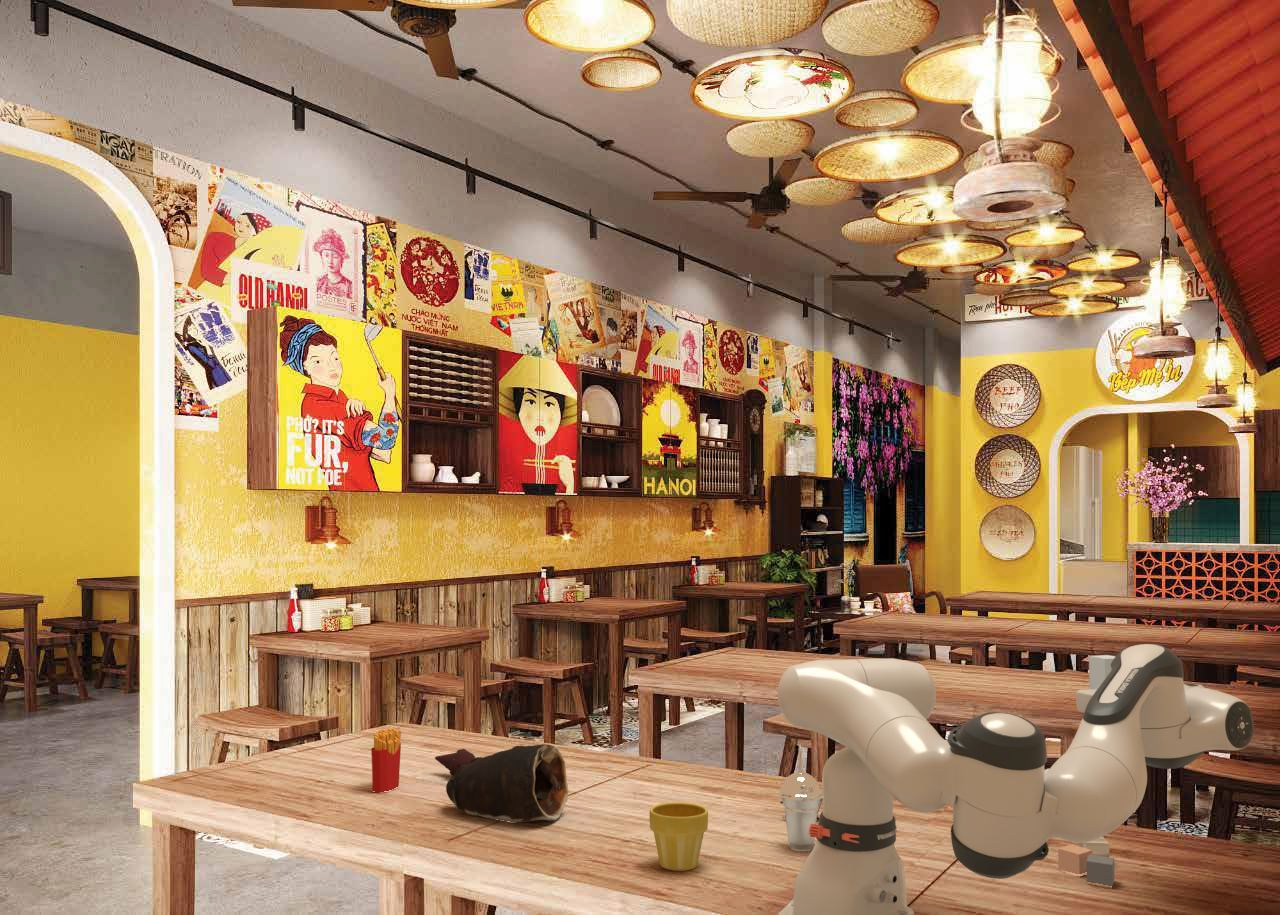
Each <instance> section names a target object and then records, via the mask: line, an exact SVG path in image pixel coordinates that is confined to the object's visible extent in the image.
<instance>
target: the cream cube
mask: <svg viewBox="0 0 1280 915" xmlns="http://www.w3.org/2000/svg"><path fill="white" fill-rule="evenodd" d="M1079 847H1083V848H1086V849H1090V850H1092V855H1097V856H1103V857H1110V843H1109V841H1108V840H1107V839H1106V838H1105V837H1104V836H1102V837H1100V838H1098V839H1095V840H1093V841H1089V842H1084V843H1079Z"/></svg>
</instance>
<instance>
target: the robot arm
mask: <svg viewBox="0 0 1280 915" xmlns="http://www.w3.org/2000/svg"><path fill="white" fill-rule="evenodd" d="M1116 654H1117V653H1116ZM1115 656H1116V657H1115V658H1114V659H1113V661H1112V662H1111V669H1112V670H1111V672H1110V673H1109V674H1108V676H1107V677H1106V678H1105V680H1104V681H1103V683H1102V684H1101V685H1100V687H1099V688H1098V689H1090V688H1089V689H1078V690H1077V691H1076V696H1075V697H1076V699H1075V700H1076V701H1075V702H1076V709H1077V711H1078V712H1079V713H1082V719H1081V720H1080V723H1079V726H1078V728H1077V731H1076V733H1075V735H1074V737H1073V739H1072V741H1071V743H1070V745H1069V747H1068V748H1067V750H1066V751H1065V752H1064V753H1063V754H1062V755H1061V756H1060V757H1059V758H1058V759H1057V760H1056V761H1055V762H1054V763H1053V764H1052V765H1051V767H1050V768H1046V769H1045V765H1046V763H1047V761H1048V750H1047V744H1046V739H1045V735H1044V733H1043V731H1042V730H1041V729H1040V728H1039V727H1038V726H1037V725H1036V724H1035V723H1033V722H1032V721H1031V720H1028V719H1027V718H1024V717H1022V716H1019V715H1016V714H1012V713H1008V712H998V711H994V712H993V711H992V712H985V713H982V714H980V715H977V716H975V717H973V718H971V719H968V720H967V721H965V723H964V724H963V725H958V726H956V727H954V728H953V729H952V730H951V731H950V732H949V734H948V736H947V740H945V739H944V738H943V737H942V736H941V735H940V734H939V733H938V731H937V730H936V729H935V728H934V727H933V725H931V723H930V722H929V721H928V719H929V718H930V716H931V715H932V713H933V711H934V708H935V706H936V701H937V688H936V685H935V684H936V683H935V681H934V679H933V677H932V675H931V673H930V672H929V671H928V670H927V668H926V667H925V666H924V665H923V664H921V663H918V662H913V661H909V660H905V659H904V660H903V659H899V658H893V657H891V658H889V657H888V658H853V659H850V658H848V659H846V658H845V659H816V660H811V661H807V662H806V661H805V662H802V663H796V664H793V665H790V666H788V667H787V669H785V671H784V672H783V673H782V675H781V677H780V680H779V682H778V686H777V701H778V707H779V710H780V711H781V713H782V715H783V717H784V718H785V720H787V722H789V723H790V725H792V726H794V727H797V728H802V729H806V730H809V731H812V732H815V733H818V734H820V735H823V736H825V737H827V738H829V739H831V740H833V741H835V742H837V743H838V744H840V745H843V746H844V747H843V748H841V749H840V750H838V751H837V752H835V753H833V754H832V755H831V756H829V758H828V759H827V760H826V761H825V763H824V766H823V769H822V776H821V778H822V784H821V785H822V788H821V790H822V795H823V801H822V811H821V813H820V814H819V820H817V821H818V822H817V823H816V824H813V823H812V824H811V825H810V828H809V832H810V833H809V835H810V836H811V837H815V838H816V840H817V841H816V842H815V844H814V845H813V850H811V852H809V855H808V857H807V858H806V860H805V862H804V863H803V864H802V867H801V869H800V871H799V873H798V874H797V876H796V878H795V881H794V887H793V899H791V901H789V902H788V904H787V905H786V906H784V908H782V910H780V911H779V913H778V914H777V915H915V910H913V909H912V908H911V907H909V906H908V902H907V901H908V899H907V889H906V888H907V887H906V876H905V866H904V865H905V864H904V861H903V860H902V858H901V857H900V855H899V853H898V851H897V848H896V846H895V843H896V841H897V832H898V831H897V830H898V828H897V824H896V818H895V816H894V815H893V814H894V813H893V812H894V799H895V800H897V802H899V803H900V804H901V805H903V806H904V807H906V808H907V809H909V810H911V811H914V812H916V813H922V814H924V813H926V814H927V813H933V812H937V811H939V810H941V809H943V808H945V807H946V806H947V805H948V806H950V807H951V806H952V825H951V826H950V839H951V845H952V846H951V847H952V850H953V853H954V856H955V858H956V860H957V861H958V862H959V863H960V864H961V865H963V866H964V867H965V868H966V869H968V870H969V871H971V872H972V873H975V875H976V874H977V875H978V876H981V877H985V878H990V879H998V880H999V879H1000V880H1001V879H1002V880H1003V879H1009V878H1011V877H1013V876H1014V877H1015V876H1016V875H1018V874H1020V873H1023V872H1025V871H1026V870H1028V869H1029V868H1030V867H1031V866H1032V865H1033V864H1034V863H1035V862H1036V861H1041V860H1045V858H1046V857H1047V856H1048V854H1049V850H1050V849H1049V845H1048V843H1047V841H1049V840H1050V839H1052V838H1053V839H1055V838H1059V839H1063V840H1064V841H1067V842H1070V843H1071V842H1072V843H1077V844H1078V843H1079V844H1080V843H1084V842H1089V841H1093V840H1095V839H1098V838H1100V837H1104V836H1106V835H1108V834H1110V833H1111V832H1113V831H1114V830H1116V829H1118V827H1119V826H1121V825H1122V824H1124V822H1126V821H1127V820H1128V819H1129V818H1130V817H1132V816H1131V815H1133V814H1134V813H1135V812H1136V810H1138V808H1139V807H1140V805H1141V804H1142V801H1143V799H1144V795H1145V792H1146V788H1147V785H1148V769H1147V766H1149V767H1151V768H1157V769H1163V770H1165V769H1166V770H1173V769H1174V770H1175V769H1180V768H1183V767H1186V766H1189V765H1190V764H1192V763H1193V762H1194V761H1196V760H1197V759H1198V758H1200V756H1202V755H1203V754H1204V753H1205V752H1206V751H1214V750H1217V751H1218V750H1220V751H1221V750H1223V751H1239V750H1243V749H1245V748H1246V747H1247V746H1248V745H1249V744H1250V742H1251V741H1252V739H1253V736H1254V730H1255V723H1254V718H1253V717H1254V716H1253V713H1252V709H1251V708H1250V706H1249V705H1248V704H1247V703H1246V702H1245V701H1244V700H1243V699H1240V698H1239V697H1236V696H1234V695H1231V694H1229V693H1226V692H1224V691H1219V690H1216V689H1213V688H1207V687H1205V686H1204V685H1202V684H1197V683H1185V682H1184V678H1185V677H1184V668H1183V667H1184V666H1183V664H1184V663H1183V660H1181V659H1180V658H1179V657H1178V656H1177V654H1175V653H1174V652H1172V651H1171V650H1170V649H1169V648H1167V647H1165V646H1164V645H1162V644H1156V643H1144V644H1143V643H1142V644H1141V643H1140V644H1135V645H1131V646H1128V647H1125V648H1123V649H1122V650H1120V651H1119V652H1118V654H1117V655H1115Z"/></svg>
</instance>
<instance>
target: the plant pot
mask: <svg viewBox="0 0 1280 915" xmlns="http://www.w3.org/2000/svg"><path fill="white" fill-rule="evenodd" d="M649 828H650V830H651V831H652V832H653V836H654V840H655V846H656V851H657V857H658V861H659V865H660V866H661V867H662V868H663V869H666V870H669V871H674V872H676V871H677V872H684V871H690V870H694V869H695V868H697V867H698V863H699V860H700V859H699V858H700V854H701V849H702V843H703V839H704V834H705V833H706V831H707V830H708V828H709V810H708V809H707V808H706V807H705V806H703V805H701V804H696V803H689V802H678V801H677V802H665V803H663V802H662V803H659V804H655V805H653V806H652V807H650V809H649Z"/></svg>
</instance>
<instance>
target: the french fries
mask: <svg viewBox="0 0 1280 915" xmlns="http://www.w3.org/2000/svg"><path fill="white" fill-rule="evenodd" d="M401 735H402V731H401V730H400V729H398V730H397V729H396V728H394V727H393V728H390V727H389V728H387V729H379V730H378V732H375V733H373V747H371V749H370V750H371V751H370V752H371V754H370V755H371V780H372V781H371V783H372V784H371V785H372V792H373V791H375V792H384V791H389V790H392V789H394V788H396V787H398V786H399V785H400V769H401V768H400V767H401V749H402V748H401V747H402V742H401V737H402V736H401ZM399 787H400V786H399ZM394 790H395V789H394ZM392 791H393V790H392ZM375 792H374V793H375Z"/></svg>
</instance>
